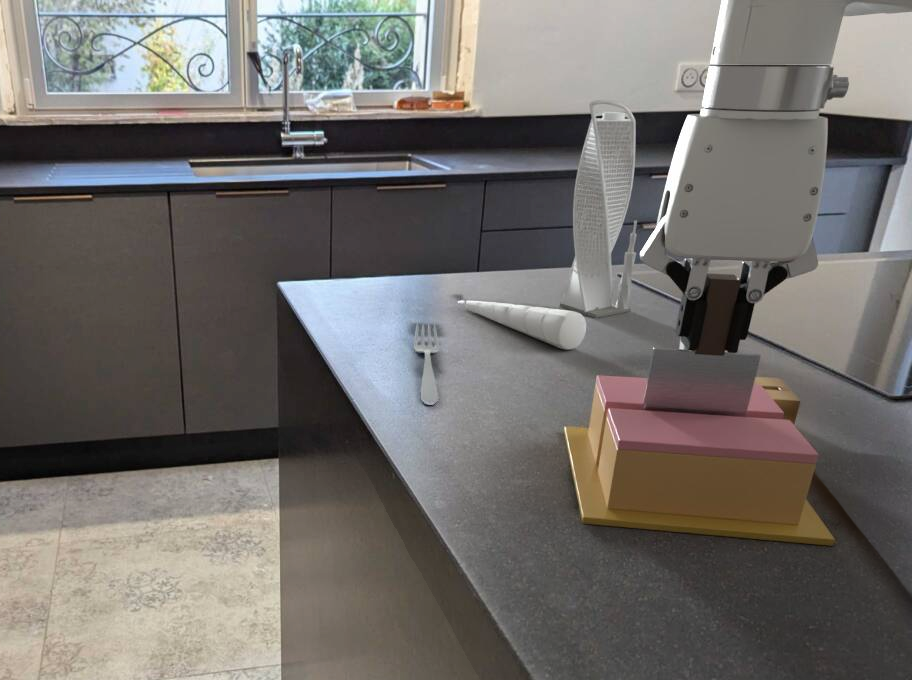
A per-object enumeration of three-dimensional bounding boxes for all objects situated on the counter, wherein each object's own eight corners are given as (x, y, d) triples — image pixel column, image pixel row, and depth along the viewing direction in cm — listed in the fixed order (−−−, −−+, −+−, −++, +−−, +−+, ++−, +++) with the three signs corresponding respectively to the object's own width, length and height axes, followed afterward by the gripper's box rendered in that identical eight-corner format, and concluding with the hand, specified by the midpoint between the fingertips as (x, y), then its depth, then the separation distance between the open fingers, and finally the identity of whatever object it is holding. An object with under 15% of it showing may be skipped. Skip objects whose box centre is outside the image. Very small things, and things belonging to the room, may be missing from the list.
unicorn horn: (479, 302, 123) (482, 270, 121) (587, 349, 103) (592, 311, 101) (452, 306, 121) (454, 273, 119) (556, 354, 101) (561, 316, 99)
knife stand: (770, 414, 84) (780, 377, 82) (790, 439, 78) (801, 400, 76) (646, 406, 86) (653, 370, 84) (657, 430, 80) (664, 392, 79)
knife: (737, 430, 69) (774, 276, 63) (743, 440, 67) (783, 282, 61) (636, 423, 70) (665, 271, 65) (640, 432, 68) (670, 277, 63)
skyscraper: (588, 319, 115) (619, 101, 103) (546, 305, 121) (571, 99, 109) (630, 311, 118) (665, 99, 106) (588, 298, 125) (617, 97, 113)
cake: (762, 445, 77) (779, 379, 74) (833, 546, 61) (858, 466, 58) (563, 431, 80) (572, 367, 77) (582, 523, 64) (594, 447, 61)
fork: (414, 405, 86) (415, 390, 86) (413, 336, 108) (413, 323, 107) (445, 406, 86) (446, 391, 85) (437, 337, 108) (438, 323, 107)
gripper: (865, 93, 59) (800, 338, 67) (633, 92, 62) (597, 327, 70) (913, 98, 53) (834, 369, 61) (651, 96, 56) (608, 355, 63)
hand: (707, 344), depth 65 cm, fingers closed on knife, 2 cm apart
